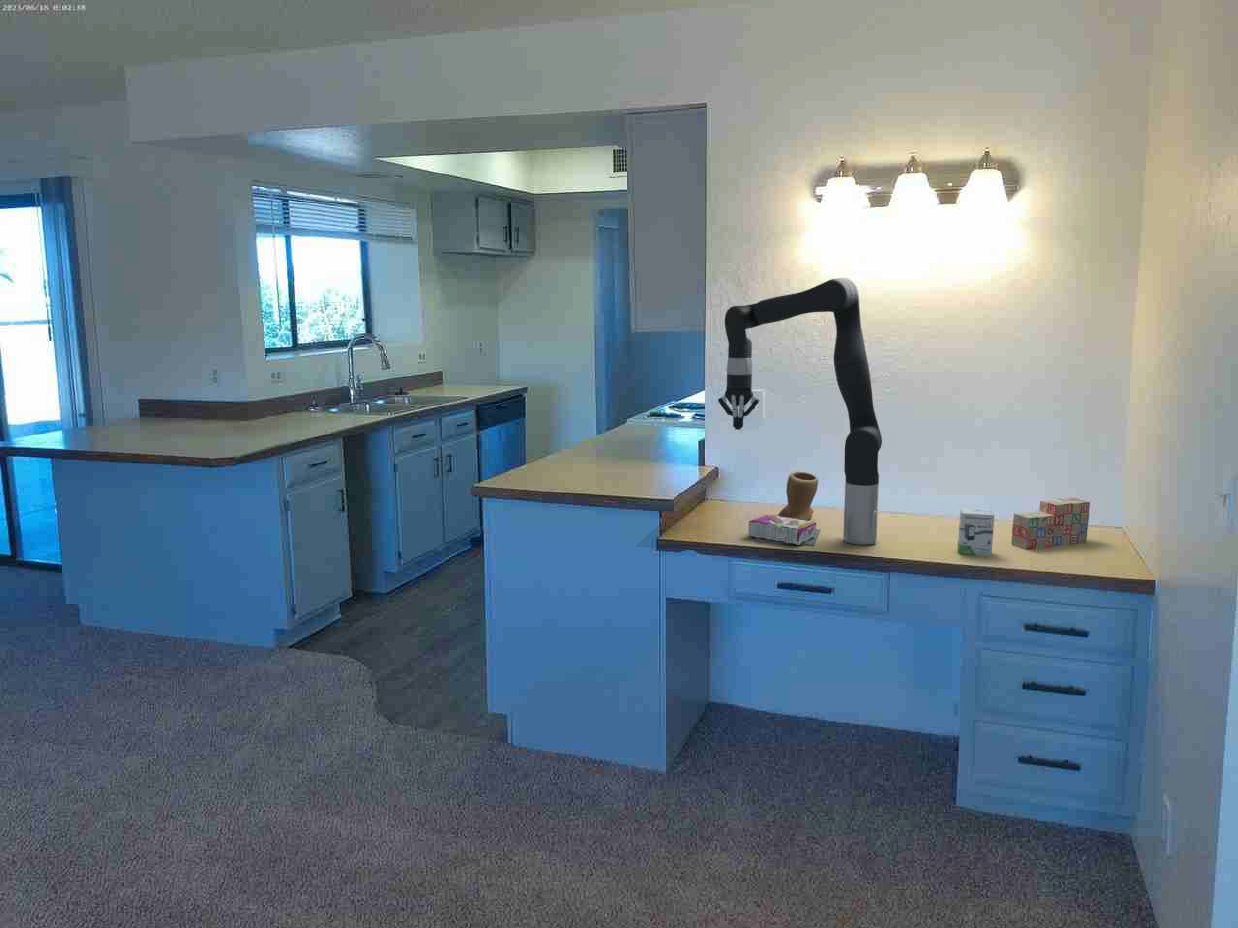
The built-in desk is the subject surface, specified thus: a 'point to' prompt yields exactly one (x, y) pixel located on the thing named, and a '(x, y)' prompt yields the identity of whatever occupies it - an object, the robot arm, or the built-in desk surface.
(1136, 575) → the built-in desk surface
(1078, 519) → the stack of blocks
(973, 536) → the ink box
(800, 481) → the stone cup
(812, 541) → the mat
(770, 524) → the candy bar box
